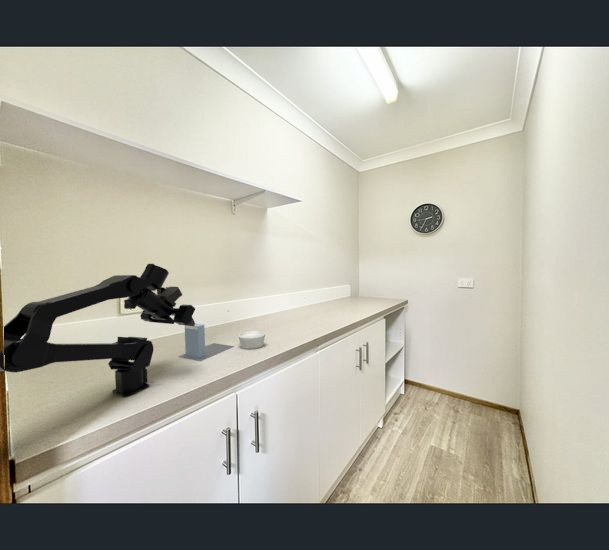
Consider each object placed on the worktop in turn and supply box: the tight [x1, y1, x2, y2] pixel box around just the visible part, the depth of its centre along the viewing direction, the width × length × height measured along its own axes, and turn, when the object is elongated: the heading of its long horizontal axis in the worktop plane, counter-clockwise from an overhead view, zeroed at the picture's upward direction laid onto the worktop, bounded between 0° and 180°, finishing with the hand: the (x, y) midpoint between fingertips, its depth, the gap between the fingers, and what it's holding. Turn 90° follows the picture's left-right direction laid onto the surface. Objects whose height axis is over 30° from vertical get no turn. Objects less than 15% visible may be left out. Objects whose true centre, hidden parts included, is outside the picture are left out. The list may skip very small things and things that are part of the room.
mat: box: [177, 342, 235, 362], centre depth 98 cm, size 18×12×1 cm, turn 155°
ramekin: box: [238, 330, 266, 350], centre depth 105 cm, size 11×11×5 cm
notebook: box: [184, 323, 206, 359], centre depth 92 cm, size 3×7×12 cm, turn 65°
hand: (184, 323), depth 87 cm, fingers open, 9 cm apart
